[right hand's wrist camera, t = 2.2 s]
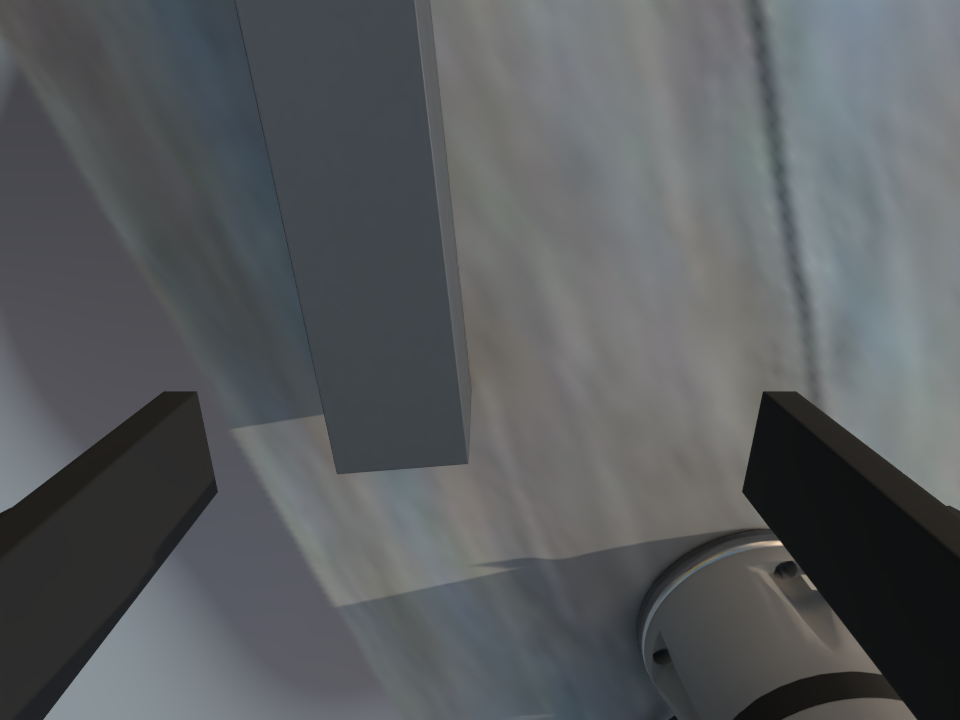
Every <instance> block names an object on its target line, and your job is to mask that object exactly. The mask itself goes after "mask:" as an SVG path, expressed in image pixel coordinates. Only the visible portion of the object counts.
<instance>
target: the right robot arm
mask: <svg viewBox="0 0 960 720" xmlns="http://www.w3.org/2000/svg"><path fill="white" fill-rule="evenodd" d="M217 492H218V491H217V486H216V481H215V476H214V471H213V467H212V462H211V457H210V452H209V447H208V443H207V438H206V433H205V428H204V423H203V419H202V414H201V409H200V404H199V399H198V395H197V392H163V393H161V394H160V395H159V396H157V397H156V398H155V399H153V400H152V401H151V402H150V403H148V404H147V405H146V406H144V407H143V408H142V409H140V410H139V411H138V412H136V413H135V414H134V415H133V416H131V417H130V418H129V419H127V420H126V421H125V422H123V423H122V424H121V425H119V426H118V427H117V428H116V429H114V430H113V431H112V432H110V433H109V434H108V435H106V436H105V437H104V438H102V439H101V440H100V441H98V442H97V443H96V444H95V445H93V446H92V447H91V448H89V449H88V450H87V451H85V452H84V453H83V454H82V455H80V456H79V457H78V458H76V459H75V460H74V461H72V462H71V463H70V464H68V465H67V466H66V467H64V468H63V469H62V470H61V471H59V472H58V473H57V474H55V475H54V476H53V477H51V478H50V479H49V480H47V481H46V482H45V483H44V484H42V485H41V486H40V487H38V488H37V489H36V490H34V491H33V492H32V493H30V494H29V495H28V496H26V497H25V498H24V499H23V500H21V501H20V502H19V503H17V504H16V505H15V506H13V507H12V508H9V509H8V510H6V511H4V512H2V513H0V720H43V719H44V718H45V717H46V715H47V714H48V713H49V711H50V710H51V709H52V707H53V706H54V705H55V703H56V702H57V701H58V700H59V698H60V697H61V696H62V694H63V693H64V692H65V690H66V689H67V688H68V687H69V685H70V684H71V683H72V681H73V680H74V679H75V677H76V676H77V675H78V674H79V672H80V671H81V669H82V668H83V667H84V666H85V664H86V663H87V662H88V660H89V659H90V658H91V657H92V655H93V654H94V653H95V651H96V650H97V649H98V647H99V646H100V645H101V644H102V642H103V641H104V640H105V638H106V637H107V636H108V634H109V633H110V632H111V630H112V629H113V628H114V627H115V625H116V624H117V623H118V621H119V620H120V619H121V617H122V616H123V615H124V614H125V612H126V611H127V610H128V608H129V607H130V606H131V604H132V603H133V602H134V600H135V599H136V598H137V597H138V595H139V594H140V593H141V591H142V590H143V589H144V587H145V586H146V585H147V584H148V582H149V581H150V580H151V578H152V577H153V576H154V574H155V573H156V572H157V571H158V569H159V568H160V567H161V565H162V564H163V563H164V561H165V560H166V559H167V557H168V556H169V555H170V554H171V552H172V551H173V550H174V548H175V547H176V546H177V544H178V543H179V542H180V540H181V539H182V538H183V537H184V535H185V534H186V533H187V531H188V530H189V529H190V527H191V526H192V525H193V524H194V522H195V521H196V520H197V518H198V517H199V516H200V514H201V513H202V512H203V510H204V509H205V508H206V507H207V505H208V504H209V503H210V501H211V500H212V499H213V498H214V496H215V495H216V494H217ZM742 492H743V494H744V495H745V496H746V498H747V499H748V500H749V501H750V503H751V504H752V505H753V507H754V508H755V509H756V511H757V512H758V513H759V514H760V516H761V517H762V518H763V520H764V521H765V522H766V524H767V525H768V526H769V527H770V529H764V530H753V531H746V532H740V533H736V534H732V535H728V536H725V537H722V538H719V539H716V540H714V541H711V542H709V543H706V544H704V545H702V546H700V547H698V548H696V549H695V550H693V551H691V552H689V553H688V554H686V555H685V556H683V557H682V558H680V559H679V560H678V561H676V562H675V563H674V564H673V565H671V566H670V567H669V568H668V569H667V570H666V571H665V572H664V573H663V574H662V575H661V576H660V577H659V578H658V580H657V581H656V582H655V583H654V585H653V586H652V588H651V589H650V590H649V592H648V594H647V596H646V598H645V599H644V602H643V604H642V607H641V609H640V613H639V616H638V623H637V639H638V645H639V649H640V652H641V655H642V658H643V661H644V664H645V668H646V670H647V673H648V675H649V677H650V679H651V681H652V683H653V684H654V686H655V688H656V690H657V691H658V693H659V694H660V696H661V697H662V698H663V700H664V701H665V702H666V704H667V705H668V707H669V708H670V709H671V711H672V712H673V713H674V715H675V716H673V717H672V718H671V719H669V720H960V511H959V510H957V509H955V508H953V507H951V506H945V505H944V504H943V503H941V502H940V501H939V500H937V499H936V498H935V497H934V496H932V495H931V494H930V493H928V492H927V491H926V490H924V489H923V488H922V487H920V486H919V485H918V484H917V483H915V482H914V481H913V480H911V479H910V478H909V477H907V476H906V475H905V474H903V473H902V472H901V471H899V470H898V469H897V468H896V467H894V466H893V465H892V464H890V463H889V462H888V461H886V460H885V459H884V458H882V457H881V456H880V455H879V454H877V453H876V452H875V451H873V450H872V449H871V448H869V447H868V446H867V445H865V444H864V443H863V442H862V441H860V440H859V439H858V438H856V437H855V436H854V435H852V434H851V433H850V432H848V431H847V430H846V429H845V428H843V427H842V426H841V425H839V424H838V423H837V422H835V421H834V420H833V419H831V418H830V417H829V416H827V415H826V414H825V413H824V412H822V411H821V410H820V409H818V408H817V407H816V406H814V405H813V404H812V403H810V402H809V401H808V400H807V399H805V398H804V397H803V396H801V395H800V394H799V393H797V392H763V394H762V399H761V404H760V409H759V414H758V419H757V423H756V428H755V433H754V438H753V443H752V447H751V452H750V457H749V462H748V467H747V471H746V476H745V481H744V486H743V491H742Z"/></svg>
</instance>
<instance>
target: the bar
mask: <svg viewBox="0 0 960 720" xmlns="http://www.w3.org/2000/svg"><path fill="white" fill-rule="evenodd" d="M235 4H236V9H237V13H238V18H239V23H240V27H241V32H242V37H243V41H244V46H245V50H246V55H247V60H248V64H249V69H250V74H251V78H252V83H253V87H254V92H255V97H256V101H257V106H258V111H259V115H260V120H261V125H262V129H263V134H264V138H265V143H266V148H267V152H268V157H269V162H270V166H271V171H272V175H273V180H274V185H275V189H276V194H277V199H278V203H279V208H280V212H281V217H282V222H283V226H284V231H285V236H286V240H287V245H288V249H289V254H290V259H291V263H292V268H293V273H294V277H295V282H296V286H297V291H298V296H299V300H300V305H301V310H302V314H303V319H304V323H305V328H306V333H307V337H308V342H309V347H310V351H311V356H312V361H313V365H314V370H315V374H316V379H317V384H318V388H319V393H320V398H321V402H322V407H323V411H324V416H325V421H326V425H327V430H328V435H329V439H330V444H331V448H332V453H333V458H334V462H335V467H336V472H337V474H345V473H357V472H370V471H383V470H395V469H408V468H421V467H433V466H446V465H459V464H468V463H469V440H470V415H471V381H470V372H469V363H468V353H467V344H466V335H465V325H464V316H463V307H462V297H461V288H460V278H459V269H458V260H457V250H456V241H455V232H454V222H453V213H452V204H451V194H450V185H449V175H448V166H447V157H446V147H445V138H444V129H443V119H442V110H441V100H440V91H439V82H438V72H437V63H436V54H435V44H434V35H433V26H432V16H431V7H430V0H235Z"/></svg>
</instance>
